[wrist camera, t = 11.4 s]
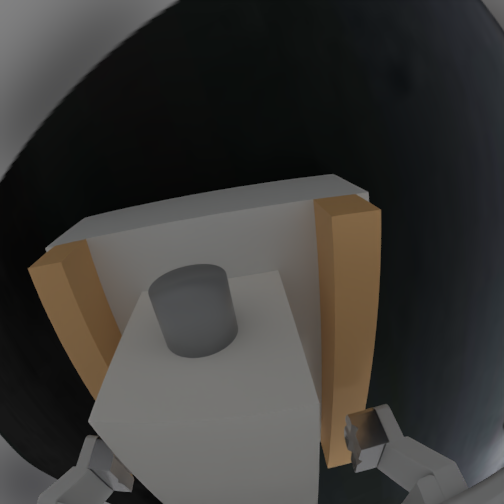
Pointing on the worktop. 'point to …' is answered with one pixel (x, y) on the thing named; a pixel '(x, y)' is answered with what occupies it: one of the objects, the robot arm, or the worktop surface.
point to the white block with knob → (213, 393)
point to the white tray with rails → (232, 276)
